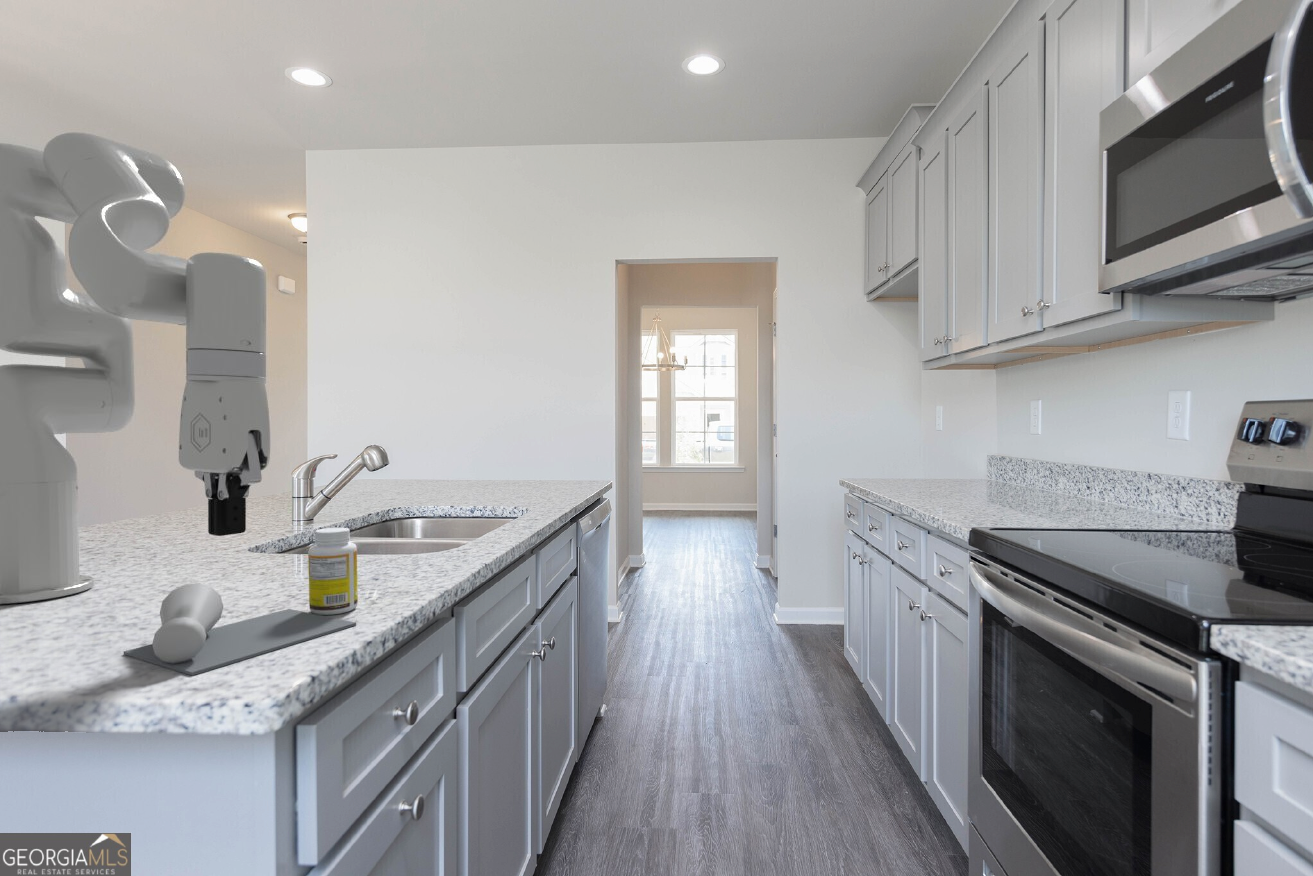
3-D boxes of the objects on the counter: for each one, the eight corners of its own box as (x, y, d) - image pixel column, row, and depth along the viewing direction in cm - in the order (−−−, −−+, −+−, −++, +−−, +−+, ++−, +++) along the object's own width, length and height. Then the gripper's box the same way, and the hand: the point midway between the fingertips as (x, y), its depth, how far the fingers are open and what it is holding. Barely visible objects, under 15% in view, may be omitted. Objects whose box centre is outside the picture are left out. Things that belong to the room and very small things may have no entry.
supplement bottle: (334, 602, 91) (333, 525, 90) (367, 606, 88) (366, 527, 88) (298, 613, 85) (297, 531, 85) (332, 618, 83) (331, 534, 83)
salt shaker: (199, 637, 78) (182, 685, 67) (151, 610, 76) (124, 656, 64) (237, 594, 80) (226, 635, 68) (190, 567, 77) (171, 604, 66)
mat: (123, 654, 71) (123, 651, 71) (289, 611, 86) (289, 608, 86) (192, 675, 65) (192, 672, 65) (356, 625, 80) (356, 622, 80)
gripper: (153, 367, 76) (153, 531, 77) (232, 365, 69) (232, 546, 70) (222, 371, 83) (222, 522, 84) (301, 370, 76) (301, 535, 77)
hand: (227, 533), depth 77 cm, fingers closed
